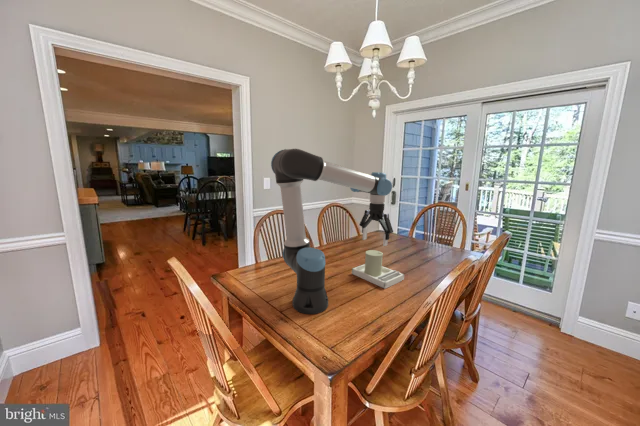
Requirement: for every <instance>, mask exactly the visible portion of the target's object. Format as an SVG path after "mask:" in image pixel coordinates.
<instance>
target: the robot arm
mask: <svg viewBox="0 0 640 426" xmlns="http://www.w3.org/2000/svg"><path fill="white" fill-rule="evenodd" d="M270 168H271V170H272V172H273V173H274V176H275V181H276V182H275V184H276V185H277V186H279V187H280V193H281V194H280V195H281V202H282V210H283V211H282V212H283V218H284V226H285V235H286V239H285V241H284V242H283V246H284V248H283V250H282V258H283V260H284V263H285V264H286V265H287V266H288V267H289V268H290V269H291V270H292V271H293V272H294V273H295V274H296V290H295V292H294V295H293V298H292V308H293V309H294V310H295V311H297V312H298V313H300V314H301V313H302V314H305V315H315V314H320V313H322V312H324V311H326V310H327V308H328V307H329V297H328V295H327V290H326V287H325V286H326V285H325V280H326V278H325V276H326V256H325V253H324V252H323V251H322V250H321V249H318V248H315V247H311V243H310V239H309V238H308V237H307V236H306V235H307V234H306V227H305V219H304V218H305V216H304V208H303V198H302V197H303V196H302V189H301V187H302V186H301V185H302V183H303V182H304V180H308V181H312V182H317V181H324V182H327V183H331V184H334V185H335V184H336V185H339V186H343V187H347V188H349V189H350V190H351V191H352V192H354V193H366V194H369V208H368V209H366V210H364V213H363V216H362V218H361V221H360V223H359V226H360V227H361V233H362V240H363V241H364V240H365V241H366V240H367V239H368V225H369V224H370V223H371V222H372V221H375V222H378V223H379V224H380V227H382V230H383V231H384V233H383V241H382V242H383V243H382V247H386V246H388V243H389V240H390V234H392V233H394V230H393V227H392V224H391V221H390V215H389V213H384V211H385V199H386V196H388V195H389V194H390V193H391V192H392V189H393V183H392V181H391V180H390V179H389V178H387V174H386V172H383V171H382V172H381V171H379V172H378V171H375V172H371V174H369V173H365V172H362V171H359V170H356V169H352V168H349V167H346V166H343V165H342V166H341V165H339V164H336V163H332V162H329V161H326V160H324V158H323V157H322V156H318V155H316V154H313V153H311V152H308V151H305V150H302V149H299V148H287V149H286V148H285V149H281V150H279V151H277V152H276V153H275V154H274V155H273V156H272V158H271V162H270Z"/></svg>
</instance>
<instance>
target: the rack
mask: <svg viewBox="0 0 640 426" xmlns="http://www.w3.org/2000/svg"><path fill="white" fill-rule="evenodd" d="M364 271H365V263H363V264H360V265H358V266H356V267H352V268H351V275H354V276H356V277H358V278H361V279H363V280H365V281H367V282H368V283H369V282H370V283H371V284H374V285H376V286H378V287H380V288H381V289H382V288H383V289H385V290H386V289H388V288H390V287H391V286H392V287H393V286H394V285H396V284H399V283H401V282H402V280H403V281H404V280H405V274H404V273H401V272H400V271H398V270H396V269H394V270H393V269H391V268H388V267H386V266H383V265H382V274H381V275H380V276H378V277H373V276H371V275H368V274H366V273H364Z"/></svg>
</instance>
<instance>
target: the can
mask: <svg viewBox="0 0 640 426" xmlns="http://www.w3.org/2000/svg"><path fill="white" fill-rule="evenodd" d="M383 256H384V253H383V252H382V251H380V250H375V249H369V250H366V251H365V258H364V260H365V262H364V264H365V271H364V273H366V274H368V275H371V276H373V277H378V276H380V275H381V274H382V266H383Z"/></svg>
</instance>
